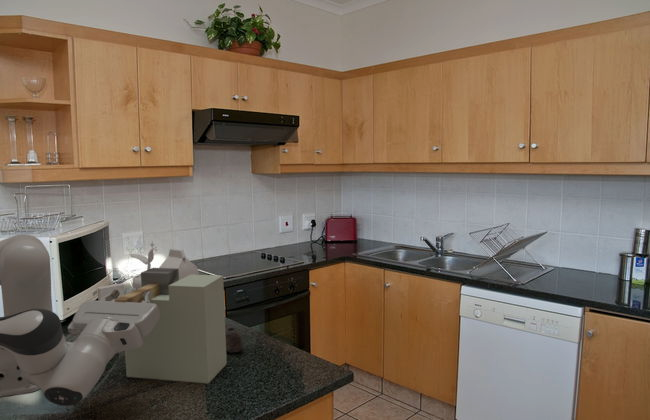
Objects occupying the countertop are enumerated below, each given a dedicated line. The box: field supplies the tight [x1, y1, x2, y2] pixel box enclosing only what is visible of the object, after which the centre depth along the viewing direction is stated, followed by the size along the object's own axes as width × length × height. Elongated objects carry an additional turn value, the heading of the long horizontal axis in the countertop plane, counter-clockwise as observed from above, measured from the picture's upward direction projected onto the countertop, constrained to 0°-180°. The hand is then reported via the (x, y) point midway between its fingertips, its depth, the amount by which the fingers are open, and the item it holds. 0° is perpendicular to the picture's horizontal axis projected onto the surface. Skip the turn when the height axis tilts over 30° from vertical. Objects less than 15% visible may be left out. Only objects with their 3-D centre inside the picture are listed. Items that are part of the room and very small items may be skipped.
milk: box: [158, 248, 200, 280], centre depth 174 cm, size 12×12×26 cm
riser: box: [124, 274, 228, 384], centre depth 130 cm, size 12×24×26 cm, turn 79°
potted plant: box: [129, 241, 158, 290], centre depth 200 cm, size 13×12×25 cm
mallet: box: [115, 267, 179, 303], centre depth 124 cm, size 21×8×6 cm, turn 168°
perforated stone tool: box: [225, 324, 243, 354], centre depth 147 cm, size 15×5×7 cm, turn 21°
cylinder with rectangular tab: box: [97, 282, 125, 301], centre depth 177 cm, size 9×9×12 cm
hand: (132, 292), depth 118 cm, fingers open, 8 cm apart
